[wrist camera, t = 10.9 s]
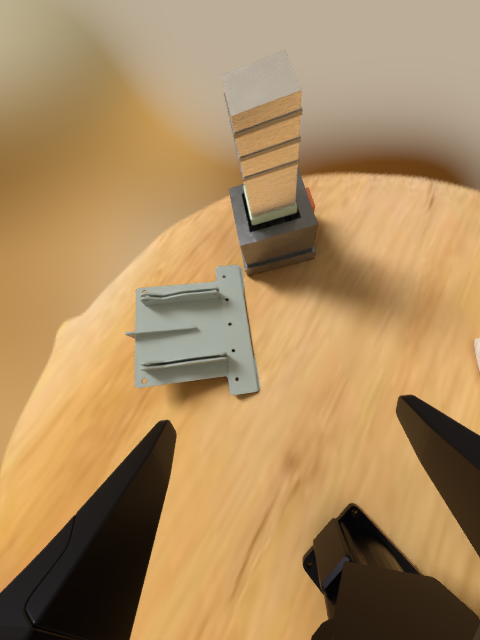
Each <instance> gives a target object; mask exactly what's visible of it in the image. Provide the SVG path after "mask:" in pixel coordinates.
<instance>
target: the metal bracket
mask: <svg viewBox="0 0 480 640" xmlns="http://www.w3.org/2000/svg"><path fill="white" fill-rule="evenodd" d="M223 276H225V278H223ZM216 278H217V280H216V281H215V282H206V283H194V284H182V285H170V286H158V287H146V288H138V289H137V290H136V331H134V332H126V333H125V335H127V336H130V337H133V338H135V387H137V388H142V387H150V386H157V385H164V384H172V383H179V382H186V381H193V380H201V379H208V378H215V377H223V376H226V377H227V378H228V382H229V391H230V394H231V395H238V394H245V393H252V392H257V391H259V389H260V383H259V377H258V370H257V364H256V359H255V358H254V356H253V350H252V343H251V337H250V330H249V324H248V318H247V311H246V305H245V298H244V290H245V286H244V279H243V273H242V268H241V267H240V266H238V265H228V266H218V267H217V268H216ZM143 291H147V293H143ZM225 299H228V301H226V300H225ZM229 323H231V324H232V325H231V326H229V325H228V324H229ZM232 349H234V350H235V352H232ZM236 377H238V378H239V380H238V381H236V380H235V378H236ZM143 379H147V382H146V384H143V383H142V380H143Z"/></svg>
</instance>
